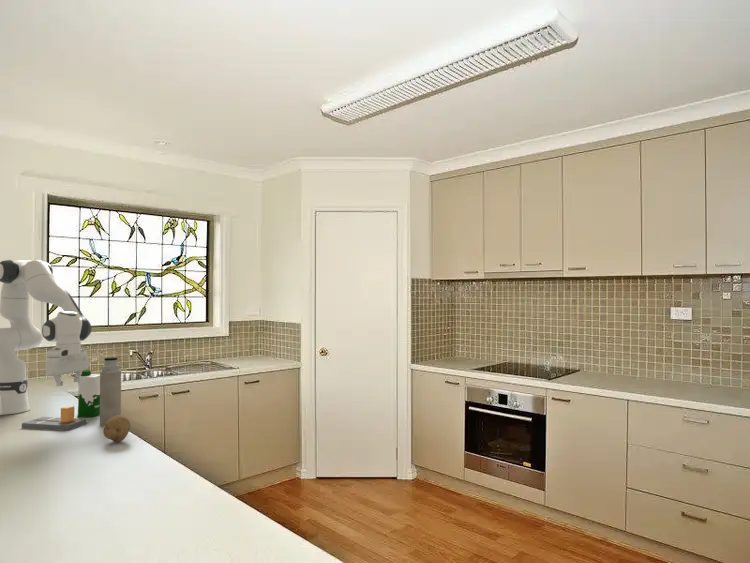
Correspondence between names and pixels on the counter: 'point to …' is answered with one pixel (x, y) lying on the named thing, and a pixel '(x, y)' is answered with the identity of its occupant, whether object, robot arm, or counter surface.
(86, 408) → the milk carton
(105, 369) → the thermos bottle
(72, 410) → the fader knob
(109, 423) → the natural sponge
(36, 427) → the slider board
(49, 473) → the counter surface
